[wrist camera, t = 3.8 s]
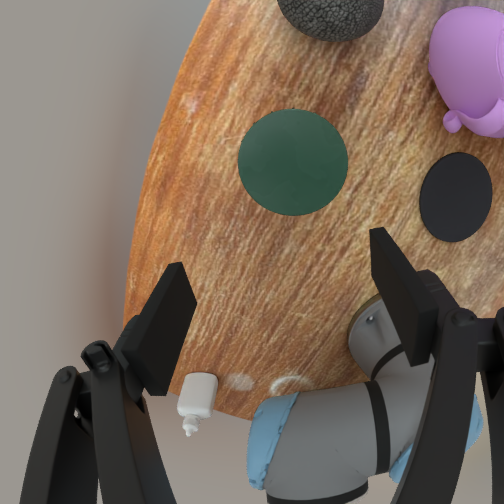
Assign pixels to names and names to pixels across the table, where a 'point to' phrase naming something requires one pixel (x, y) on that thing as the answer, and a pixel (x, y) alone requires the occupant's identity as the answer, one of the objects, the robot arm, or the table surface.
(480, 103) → the teapot
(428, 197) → the coaster
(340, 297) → the table surface
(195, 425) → the eye dropper bottle
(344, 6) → the decorative ball
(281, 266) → the table surface
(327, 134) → the jar lid
